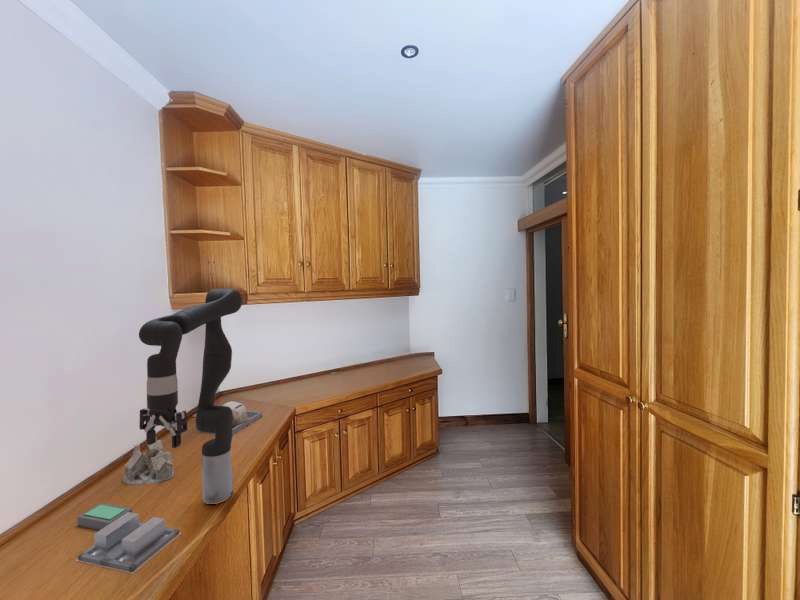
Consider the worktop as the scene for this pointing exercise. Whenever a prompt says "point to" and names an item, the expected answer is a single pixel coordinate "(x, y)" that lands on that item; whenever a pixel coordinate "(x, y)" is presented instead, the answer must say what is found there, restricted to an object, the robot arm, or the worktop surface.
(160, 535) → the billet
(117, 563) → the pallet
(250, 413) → the coin bank tray
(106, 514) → the button
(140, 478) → the ceramic cottage
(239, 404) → the coin bank
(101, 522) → the box
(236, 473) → the worktop surface
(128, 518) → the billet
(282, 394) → the worktop surface
